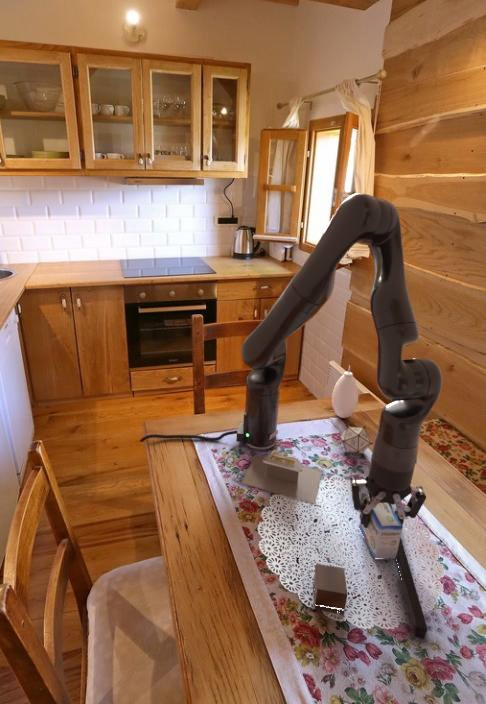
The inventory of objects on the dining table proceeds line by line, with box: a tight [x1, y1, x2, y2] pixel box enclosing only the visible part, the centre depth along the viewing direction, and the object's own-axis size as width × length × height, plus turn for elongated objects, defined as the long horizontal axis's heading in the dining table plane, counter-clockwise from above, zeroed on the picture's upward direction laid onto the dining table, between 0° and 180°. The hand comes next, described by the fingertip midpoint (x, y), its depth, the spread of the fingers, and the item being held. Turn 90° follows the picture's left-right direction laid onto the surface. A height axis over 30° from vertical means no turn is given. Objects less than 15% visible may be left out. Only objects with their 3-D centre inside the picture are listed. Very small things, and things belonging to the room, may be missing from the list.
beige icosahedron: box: [337, 423, 374, 457], centre depth 111 cm, size 9×8×10 cm
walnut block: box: [312, 563, 348, 616], centre depth 72 cm, size 5×5×5 cm
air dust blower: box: [331, 365, 359, 419], centre depth 126 cm, size 8×8×18 cm
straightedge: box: [389, 504, 428, 639], centre depth 82 cm, size 2×32×2 cm, turn 170°
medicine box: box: [358, 503, 404, 560], centre depth 82 cm, size 8×4×9 cm, turn 5°
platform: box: [241, 450, 323, 505], centre depth 101 cm, size 12×18×7 cm, turn 69°
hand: (379, 526), depth 82 cm, fingers closed on medicine box, 5 cm apart
